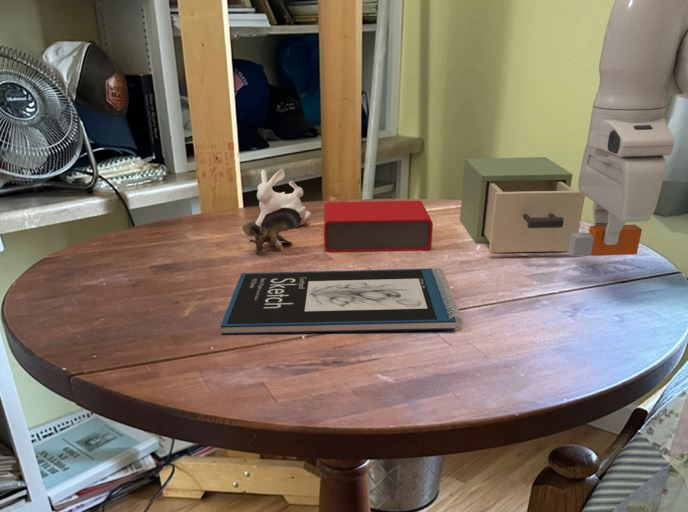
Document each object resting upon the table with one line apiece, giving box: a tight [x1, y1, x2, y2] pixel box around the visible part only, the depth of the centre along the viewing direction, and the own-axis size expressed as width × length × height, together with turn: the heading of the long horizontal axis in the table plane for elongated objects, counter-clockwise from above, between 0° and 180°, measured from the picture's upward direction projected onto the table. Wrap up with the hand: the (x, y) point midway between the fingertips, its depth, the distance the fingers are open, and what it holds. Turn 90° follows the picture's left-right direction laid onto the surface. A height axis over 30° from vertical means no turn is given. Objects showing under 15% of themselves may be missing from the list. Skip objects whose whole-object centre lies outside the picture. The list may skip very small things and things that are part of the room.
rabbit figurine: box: [254, 168, 312, 227], centre depth 131 cm, size 12×8×10 cm, turn 95°
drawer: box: [482, 180, 586, 253], centre depth 114 cm, size 21×14×9 cm, turn 0°
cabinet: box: [459, 156, 573, 244], centre depth 124 cm, size 17×15×11 cm
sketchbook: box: [219, 266, 464, 335], centre depth 95 cm, size 22×30×2 cm
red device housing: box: [323, 200, 434, 253], centre depth 122 cm, size 18×14×5 cm
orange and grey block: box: [567, 224, 643, 257], centre depth 99 cm, size 9×3×4 cm, turn 90°
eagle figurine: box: [241, 207, 302, 255], centre depth 118 cm, size 8×7×9 cm
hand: (604, 240), depth 99 cm, fingers closed on orange and grey block, 2 cm apart
